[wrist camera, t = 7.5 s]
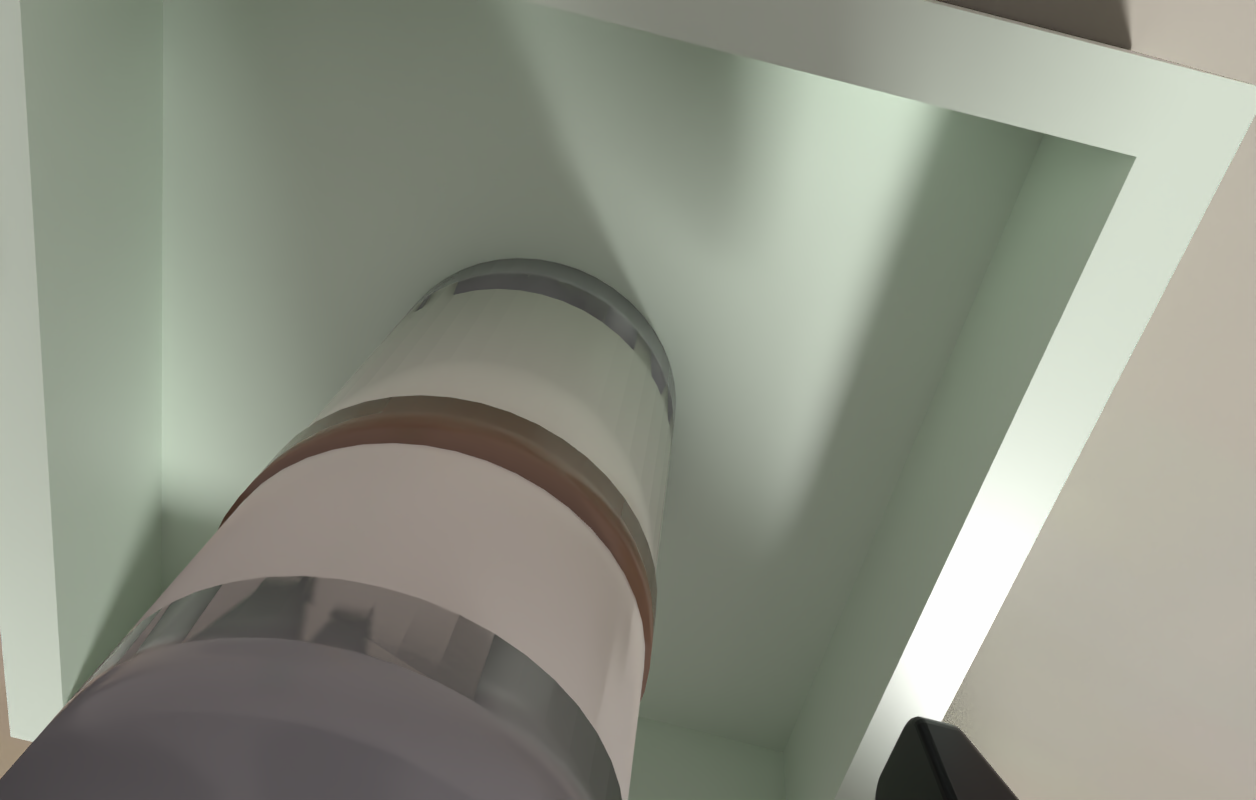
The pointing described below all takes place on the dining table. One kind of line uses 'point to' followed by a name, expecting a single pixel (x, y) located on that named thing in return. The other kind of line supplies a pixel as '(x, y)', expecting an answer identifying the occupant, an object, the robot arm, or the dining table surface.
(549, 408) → the cylinder
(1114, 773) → the dining table surface
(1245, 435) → the dining table surface
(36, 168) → the tray
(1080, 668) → the dining table surface
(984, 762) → the robot arm
